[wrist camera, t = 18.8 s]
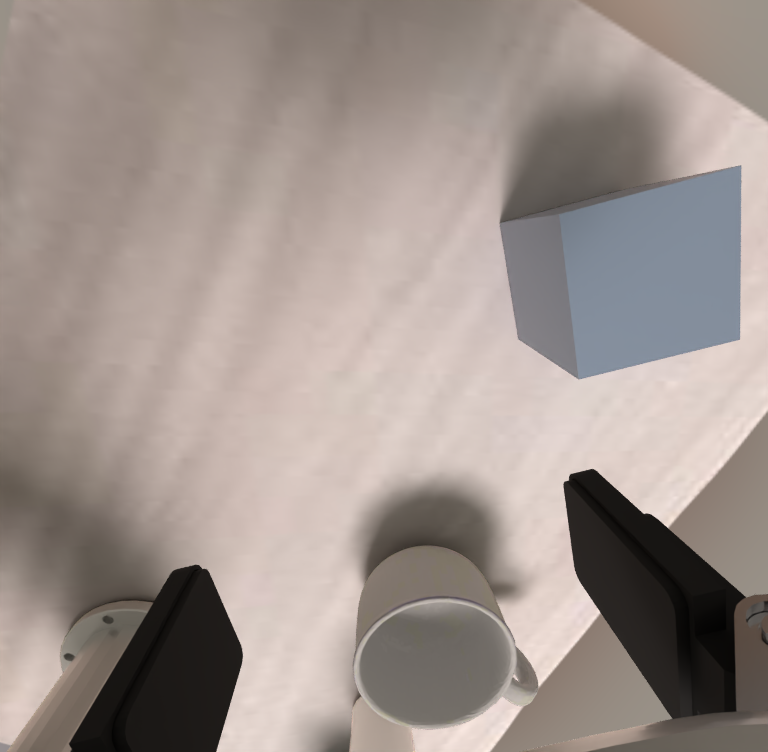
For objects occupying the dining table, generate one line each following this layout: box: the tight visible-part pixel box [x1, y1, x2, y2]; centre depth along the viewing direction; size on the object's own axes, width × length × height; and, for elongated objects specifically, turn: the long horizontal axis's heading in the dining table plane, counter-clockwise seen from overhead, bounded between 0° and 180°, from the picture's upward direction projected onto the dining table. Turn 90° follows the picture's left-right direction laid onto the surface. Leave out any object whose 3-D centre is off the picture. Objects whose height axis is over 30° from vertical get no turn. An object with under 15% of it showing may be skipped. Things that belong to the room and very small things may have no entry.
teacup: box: [353, 545, 538, 730], centre depth 31 cm, size 14×11×8 cm
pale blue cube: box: [500, 166, 741, 379], centre depth 23 cm, size 8×8×9 cm
